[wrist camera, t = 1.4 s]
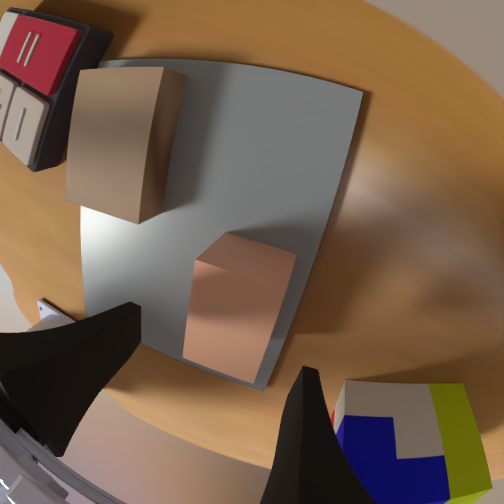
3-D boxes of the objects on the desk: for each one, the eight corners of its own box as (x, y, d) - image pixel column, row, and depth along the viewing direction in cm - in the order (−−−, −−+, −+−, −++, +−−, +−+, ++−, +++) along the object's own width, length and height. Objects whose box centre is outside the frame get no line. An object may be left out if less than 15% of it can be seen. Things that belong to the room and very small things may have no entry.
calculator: (27, 177, 15) (-34, 111, 14) (66, 166, 19) (-4, 107, 18) (83, 23, 10) (2, 6, 9) (123, 36, 14) (33, 11, 13)
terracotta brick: (268, 339, 18) (253, 383, 14) (208, 318, 18) (182, 357, 15) (296, 254, 15) (286, 289, 12) (225, 232, 16) (195, 259, 12)
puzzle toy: (344, 379, 18) (336, 508, 9) (462, 382, 16) (492, 488, 7) (318, 448, 22) (302, 540, 13) (414, 450, 20) (419, 535, 11)
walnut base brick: (162, 212, 16) (138, 224, 14) (90, 192, 17) (64, 200, 15) (187, 76, 13) (163, 67, 11) (107, 74, 14) (80, 70, 12)
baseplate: (265, 386, 20) (263, 391, 20) (90, 312, 22) (86, 314, 22) (361, 93, 12) (363, 91, 12) (104, 62, 14) (100, 61, 14)
